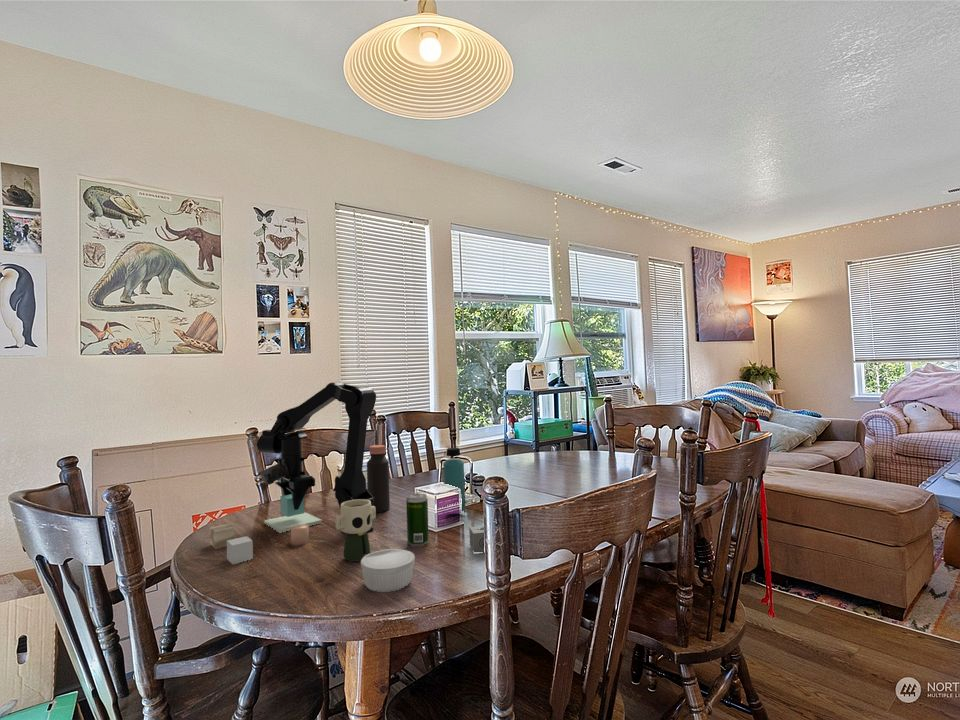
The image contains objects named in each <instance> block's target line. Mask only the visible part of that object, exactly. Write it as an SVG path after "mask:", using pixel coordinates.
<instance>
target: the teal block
mask: <svg viewBox="0 0 960 720" xmlns="http://www.w3.org/2000/svg"><path fill="white" fill-rule="evenodd" d="M305 512H306V511H305V497H304V498H303V500H302V502H301V505H300V507H299V509H298V510H294V506H293V500H292V494H289V495H280V514H281V515H283V516H287V517H289V516H294V515H298V514H303V513H305Z"/></svg>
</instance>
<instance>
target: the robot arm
mask: <svg viewBox="0 0 960 720" xmlns="http://www.w3.org/2000/svg"><path fill="white" fill-rule="evenodd" d="M336 400H337V401H338V402H340V403H342V404H344V405H345V408H344V409H345V412H346V413H347V416H348V429H347V437H346V438H347V439H346V447H345V448H346V449H345V457H344V458H345V459H344V466H343V468H344V469H343V471H342V474H339V475H336V476H335V478H334V488H333V492H334V496H335V497H334V498H335V499H336V500H337V503H338V506H339V509H340V511H341V503H343V502H346V501H349V500H357V499H364V500H369V501H371V505H373V502H374V499H375V498H374V497H373V496H372V494H371V493H370V492H369V491H368V490H367V478H366V477H365V474H364V472H363V466H364V465H363V464H364V455H365V446H366V437H367V428H368V420H369V418H370V416H371V415H372V413H373V412H374V408H375V406H376V405H375V404H376V401H377V393H376V392H375V391H374V389H373V388H372V387H369V386H362V387H361V386H356V385H351V384H350V385H349V384H347V383H344V382H341V381H340V382H339V381H337V382H330V383H328V384H327V385H326V386H325V387H323V388H322V389H321V390H319V391H318V392H317V393H315V394H313V395H312V396H311V397H309V398H308V399H306V400H305V401H304V402H302V403H300V404H299V405H297V406H294V407H292V408H288V409H286V410H284V411H281V412H279V414H277V416H276V420H275V422H274V424H273V425H272V427H271V429H264V430H263V429H262V432H261V434H260V436H259V438H258V439H257V442H256V447H257V451H259V452H260V453H262V454H276V455H277V454H280V457H279V458H278V459H277V464H275V465H271V466H269V467H268V468H266V469H264V470H262V471H260V472H259V475H260V477H261V479H262V482H263V484H266V485H270V486H271V485H272V484H275V485H276V486H278V487H279V488H280V489H281V491H282V494H283V495H282V496H284V495H289V494H292V500H293V506H294V510H298V509H299V507H300V505H301V502H302V500H303V498H304V499H305V495H306V494H307V491H309V490H308V489H309V488H311V487H315V486H316V478H314V477H313V476H312V475H309V474H306V471H304V470H303V461H305V460H306V459H305V456H303V446H302V445H303V442H302V440H303V439H308V437H309V436H308V434H306V433H305V432H304V431H303V430H301V429H303V428H304V427H305V426H306V425H307V424H308V423H309V422H310V418H311V417H312V416H313V415H315V414H316V413H318V412H319V411H321V410H322V409H323V408H325V407H326V406H328V405H329V404H331V403H332V402H333V401H336ZM374 529H375V528H374V527H371V528H370V529H369V530H368V531H367V533H369V532H373V531H374Z"/></svg>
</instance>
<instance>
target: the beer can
mask: <svg viewBox="0 0 960 720" xmlns="http://www.w3.org/2000/svg"><path fill="white" fill-rule="evenodd" d="M406 497H407V498H406V500H405V501H406V502H405V503H406V538H407V543H408V545H409V546H410V545H411V546H410V547H422V546H421V545H423V546H426V545H427V544H428V543H429V505H428V502H429V501H428V500H429V499H428V496H427V494H426V493H422V492H421V493H420V492H419V493H417V492H416V493H411V494H408V495H407V496H406ZM425 544H426V545H425Z"/></svg>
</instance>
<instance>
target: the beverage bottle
mask: <svg viewBox="0 0 960 720" xmlns="http://www.w3.org/2000/svg"><path fill="white" fill-rule="evenodd" d="M446 456H447V457H459V456H461V450H460V448H459V447H449V448H447V449H446ZM442 464H443V485H444V484H449V485H452V486H455V487H458V488H460V489H461V494H462V512H465V510H466V504H467V503H466V490H465V487H466V486H465V478H466V475H465V462H464V461H463V460H462V459H461V458H447V459H446V460H445V461H444V462H443V463H442Z"/></svg>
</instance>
